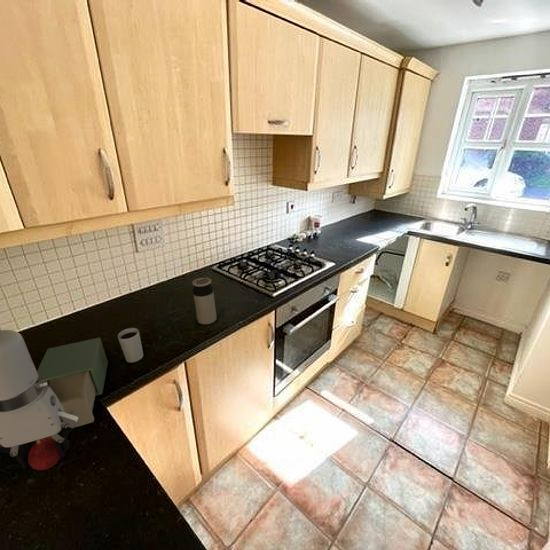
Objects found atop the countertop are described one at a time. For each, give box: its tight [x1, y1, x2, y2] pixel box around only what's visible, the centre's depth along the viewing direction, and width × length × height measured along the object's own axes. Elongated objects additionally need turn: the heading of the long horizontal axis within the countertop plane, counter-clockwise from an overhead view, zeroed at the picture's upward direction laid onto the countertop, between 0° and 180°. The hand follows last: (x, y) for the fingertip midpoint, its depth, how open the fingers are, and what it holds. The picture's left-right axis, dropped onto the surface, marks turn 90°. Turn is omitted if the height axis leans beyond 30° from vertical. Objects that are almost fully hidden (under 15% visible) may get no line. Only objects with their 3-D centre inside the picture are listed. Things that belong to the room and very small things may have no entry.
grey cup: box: [117, 327, 144, 363], centre depth 104 cm, size 7×7×10 cm
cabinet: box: [36, 337, 109, 397], centre depth 93 cm, size 16×15×10 cm
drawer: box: [49, 371, 97, 429], centre depth 80 cm, size 20×14×8 cm
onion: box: [28, 436, 61, 471], centre depth 63 cm, size 6×6×8 cm
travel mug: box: [191, 277, 218, 325], centre depth 123 cm, size 8×8×18 cm
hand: (46, 455), depth 64 cm, fingers closed on onion, 5 cm apart
